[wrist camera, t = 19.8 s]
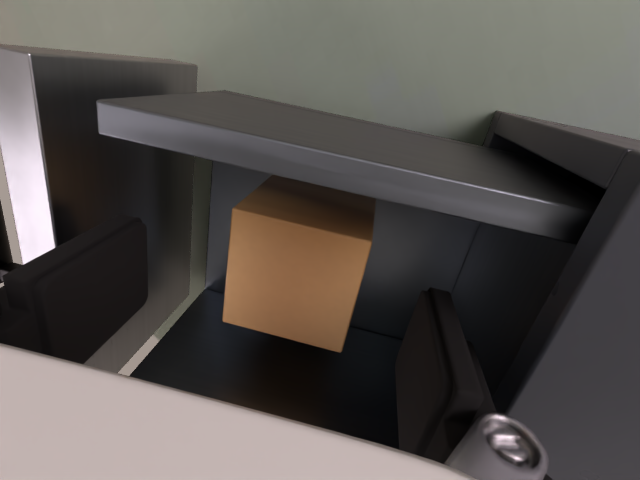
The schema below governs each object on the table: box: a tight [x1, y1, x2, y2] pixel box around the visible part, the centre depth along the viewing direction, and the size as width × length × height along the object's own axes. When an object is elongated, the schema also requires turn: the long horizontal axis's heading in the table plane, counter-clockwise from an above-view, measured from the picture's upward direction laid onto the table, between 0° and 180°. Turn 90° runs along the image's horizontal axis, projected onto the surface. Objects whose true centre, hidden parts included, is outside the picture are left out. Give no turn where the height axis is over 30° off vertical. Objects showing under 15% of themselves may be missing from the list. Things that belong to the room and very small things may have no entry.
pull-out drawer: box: [0, 44, 601, 450], centre depth 14 cm, size 20×11×8 cm, turn 79°
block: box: [222, 175, 376, 353], centre depth 14 cm, size 4×4×4 cm
